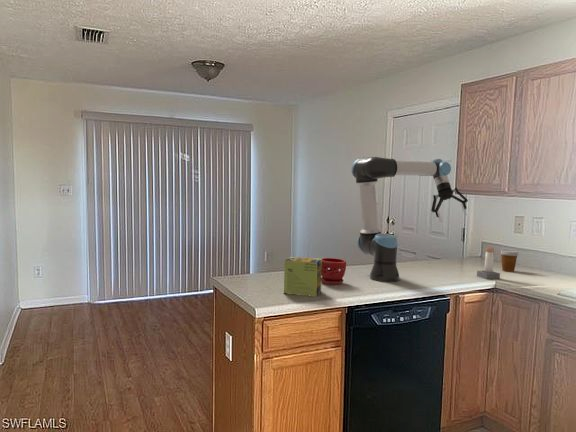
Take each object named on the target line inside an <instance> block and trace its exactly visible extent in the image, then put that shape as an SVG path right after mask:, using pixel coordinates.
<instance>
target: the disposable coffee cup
mask: <svg viewBox="0 0 576 432" xmlns="http://www.w3.org/2000/svg"><path fill="white" fill-rule="evenodd" d="M518 255H519V252H518V251H517V250H513V249H502V250H500V256H501V259H500V260H501V270H502V271H503V272H506V273H507V272H508V273H514V272H515V269H516V263H517V258H518Z"/></svg>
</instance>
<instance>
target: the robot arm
mask: <svg viewBox="0 0 576 432" xmlns="http://www.w3.org/2000/svg"><path fill="white" fill-rule="evenodd" d="M451 171H452V167H451V164H450V163H449V162H447V161H443V159H441V158H435V159H432V160H431V161H418V160H416V161H414V160H396V159H395V158H387V157H380V156H379V157H378V156H368V157H361V158H360V157H359V158H358V159H356V160H355V161H354V162H353V163H352V165H351V174H352V176H353V177H354V178H355V182H356V183H355V184H356V185H358V186H359V200H360V215H361V225H362V226H361V230H360V231H359V236H358V237H357V239H356V245H357V249H358V250H359V251H360V252H361V253H363V254H364V255H367V256H372V257H373V265H372V267H371V271H370V274H369V279H371V280H373V281H378V282H397V281H399V280H400V274H399V270H398V267H397V259H398V258H397V255H398V239H397V237H396V236H395V235H392V234H388V233H382V231H381V229H380V228H379V224H378V209H377V193H376V184H377V183H378V182H379V181H378V179H382V178H384V179H385V178H394V177H395V176H418V177H419V176H420V177H422V176H423V177H424V176H425V177H427V176H428V177H432V178H433V180H434V184H435V186H436V190H437V194H436V195H435V194H433V201H432V205H431V210H430V211H431V212H432V213H435V216H436V217H437V218H438V219H439V222H440V223H441V224H442V223H443V219H442V216H441V213H440V211H439V209H440V208H441V206H442V204H443V202H444V201H447V200H451V198H452V199H454V200H456V201H457V202H460V203H461V204H460V205H461V209H462V211H463V213H464V216H467V211H466V210H467V205H466V203H468V202H469V200H468V198H467V197H465V196H464V195H463V193H461V192H460V191H459V189H458V187H455V188H454V189H452V186H451V183H450V180H449V177H448V176H449V174H450V173H451ZM454 193H456V194H457V195H458V196H460V198H459V197H457V196H456V195H454ZM438 198H439V200H438ZM462 199H463V200H462ZM437 200H438V202H437Z"/></svg>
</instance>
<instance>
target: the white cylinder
mask: <svg viewBox="0 0 576 432" xmlns="http://www.w3.org/2000/svg"><path fill="white" fill-rule="evenodd" d="M484 252H485V254H484V269H483V270H484V272H486V273H493V270H494V269H493V268H494V252H495V248H494V247H485V251H484Z"/></svg>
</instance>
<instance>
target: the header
mask: <svg viewBox="0 0 576 432" xmlns="http://www.w3.org/2000/svg"><path fill="white" fill-rule="evenodd" d="M484 270H485V269H483V270H477V271H476V277H479V278H481V279H483V280H500V277H501V273H500V272H497V271H493V273H486V272H484Z"/></svg>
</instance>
